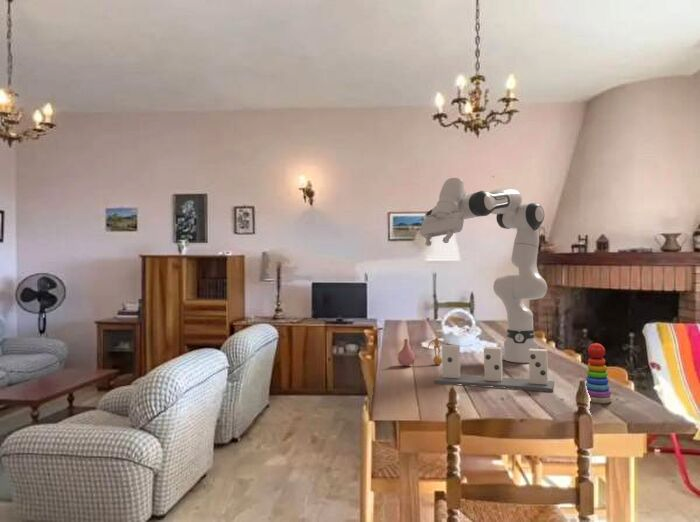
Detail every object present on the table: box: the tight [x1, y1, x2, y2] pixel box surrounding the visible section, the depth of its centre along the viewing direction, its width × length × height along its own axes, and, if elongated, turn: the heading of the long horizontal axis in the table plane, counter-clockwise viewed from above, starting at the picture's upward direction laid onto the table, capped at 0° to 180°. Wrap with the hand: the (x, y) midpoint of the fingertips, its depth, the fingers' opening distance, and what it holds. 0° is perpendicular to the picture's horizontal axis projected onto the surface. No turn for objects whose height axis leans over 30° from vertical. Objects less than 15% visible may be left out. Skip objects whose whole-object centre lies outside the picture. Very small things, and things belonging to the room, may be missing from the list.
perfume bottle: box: [397, 338, 416, 367], centre depth 228 cm, size 8×8×12 cm
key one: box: [441, 344, 461, 378], centre depth 199 cm, size 4×6×12 cm
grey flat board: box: [434, 373, 555, 393], centre depth 192 cm, size 12×42×1 cm, turn 66°
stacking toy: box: [585, 342, 613, 404], centre depth 166 cm, size 8×8×19 cm
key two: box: [483, 346, 504, 381], centre depth 193 cm, size 4×6×12 cm
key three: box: [528, 348, 549, 385], centre depth 186 cm, size 4×6×12 cm
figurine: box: [427, 337, 446, 366], centre depth 231 cm, size 8×6×12 cm
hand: (436, 243), depth 200 cm, fingers open, 8 cm apart
